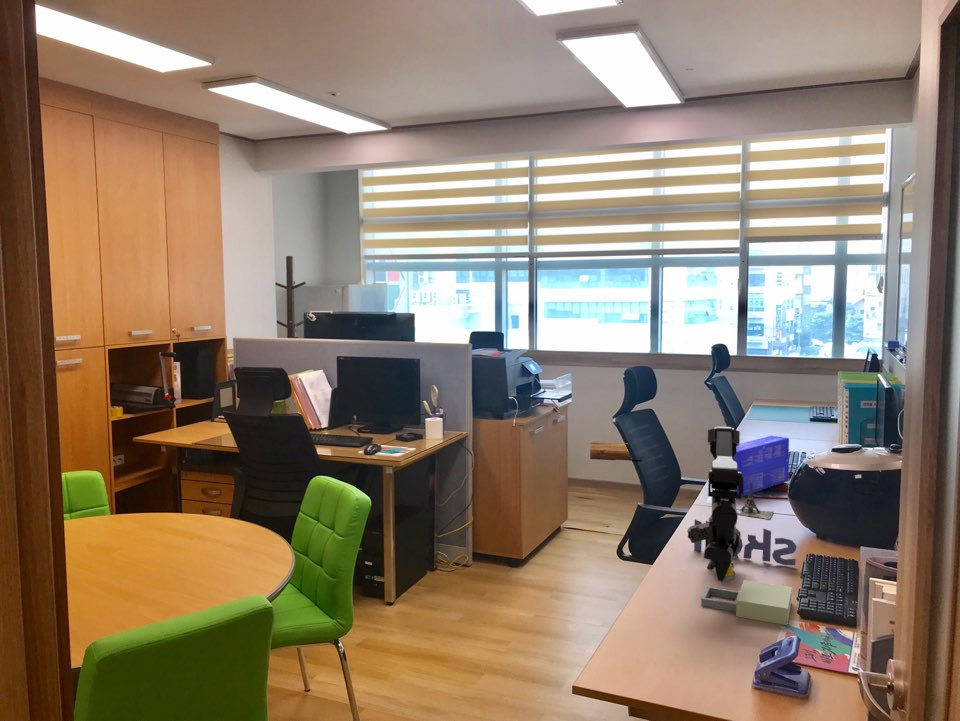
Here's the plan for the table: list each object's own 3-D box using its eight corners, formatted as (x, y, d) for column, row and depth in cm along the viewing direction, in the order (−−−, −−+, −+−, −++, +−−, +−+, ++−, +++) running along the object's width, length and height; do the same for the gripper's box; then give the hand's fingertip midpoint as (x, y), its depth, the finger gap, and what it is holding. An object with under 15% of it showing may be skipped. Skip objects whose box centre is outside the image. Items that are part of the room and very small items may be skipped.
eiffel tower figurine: (724, 514, 262) (725, 477, 261) (730, 507, 271) (731, 471, 270) (769, 520, 255) (770, 482, 254) (774, 512, 264) (775, 476, 263)
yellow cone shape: (729, 579, 189) (733, 543, 187) (737, 590, 184) (741, 553, 182) (708, 579, 189) (712, 543, 187) (715, 590, 184) (719, 553, 182)
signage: (795, 566, 211) (796, 532, 210) (795, 567, 211) (796, 533, 210) (694, 551, 224) (695, 519, 223) (693, 552, 224) (694, 519, 223)
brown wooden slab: (590, 462, 345) (590, 450, 345) (590, 454, 363) (590, 442, 363) (640, 464, 341) (640, 451, 341) (638, 455, 360) (638, 443, 359)
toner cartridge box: (769, 478, 312) (771, 435, 310) (789, 482, 305) (790, 437, 304) (716, 494, 287) (717, 447, 285) (736, 499, 281) (737, 450, 279)
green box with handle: (708, 589, 195) (709, 574, 194) (791, 602, 186) (791, 587, 186) (699, 609, 182) (699, 593, 182) (787, 625, 173) (787, 608, 173)
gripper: (697, 502, 197) (696, 560, 198) (683, 522, 180) (682, 585, 181) (741, 507, 192) (740, 566, 193) (731, 528, 175) (729, 592, 176)
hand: (722, 577), depth 186 cm, fingers closed on yellow cone shape, 5 cm apart
